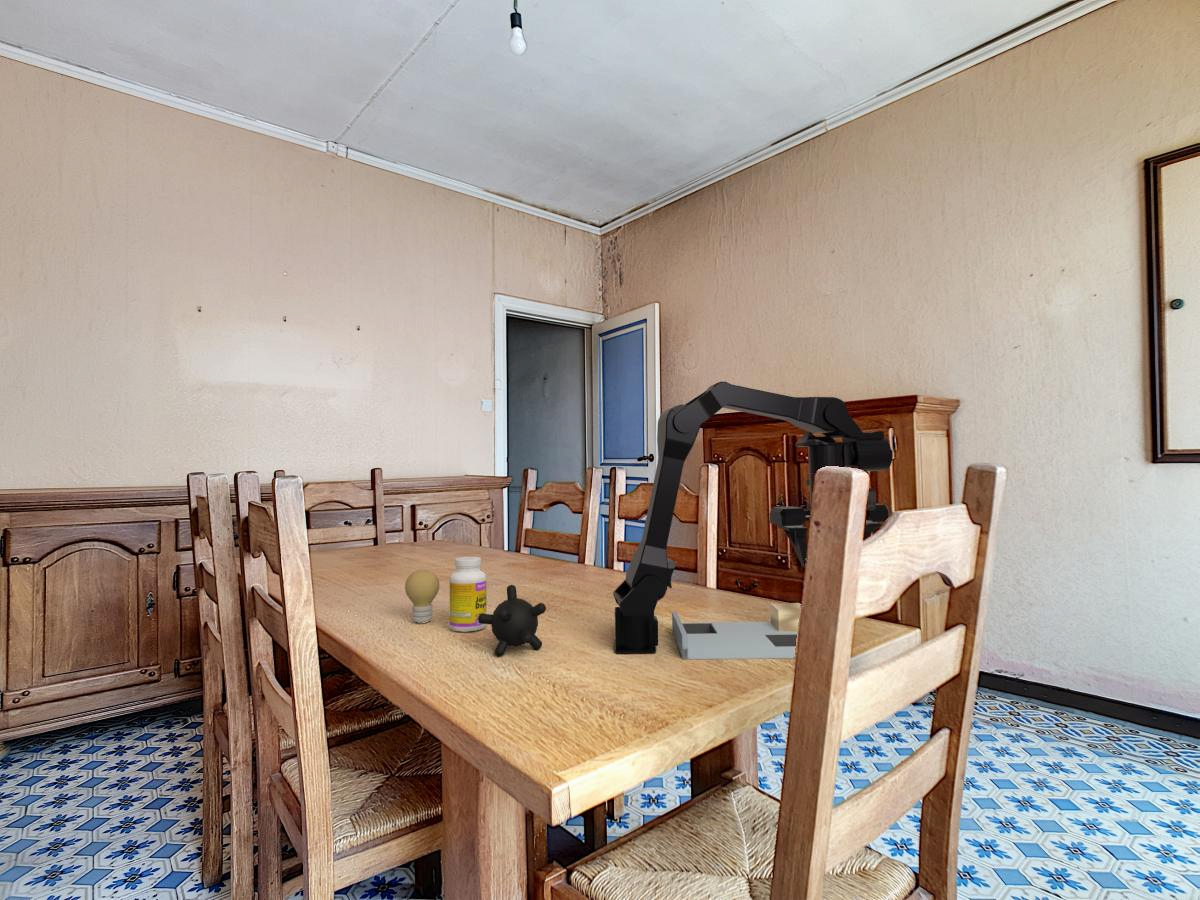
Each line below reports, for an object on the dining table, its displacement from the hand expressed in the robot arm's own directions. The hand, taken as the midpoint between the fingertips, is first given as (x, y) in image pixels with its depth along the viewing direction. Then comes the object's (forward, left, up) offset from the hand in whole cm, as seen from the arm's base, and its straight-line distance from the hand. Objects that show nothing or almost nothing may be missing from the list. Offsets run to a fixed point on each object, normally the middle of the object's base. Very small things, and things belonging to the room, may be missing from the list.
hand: (831, 565), depth 102 cm
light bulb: (-73, +14, -12) cm, 76 cm away
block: (-7, +1, -11) cm, 13 cm away
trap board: (-15, -3, -12) cm, 19 cm away
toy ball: (-52, -4, -12) cm, 54 cm away
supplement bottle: (-63, +9, -12) cm, 65 cm away
